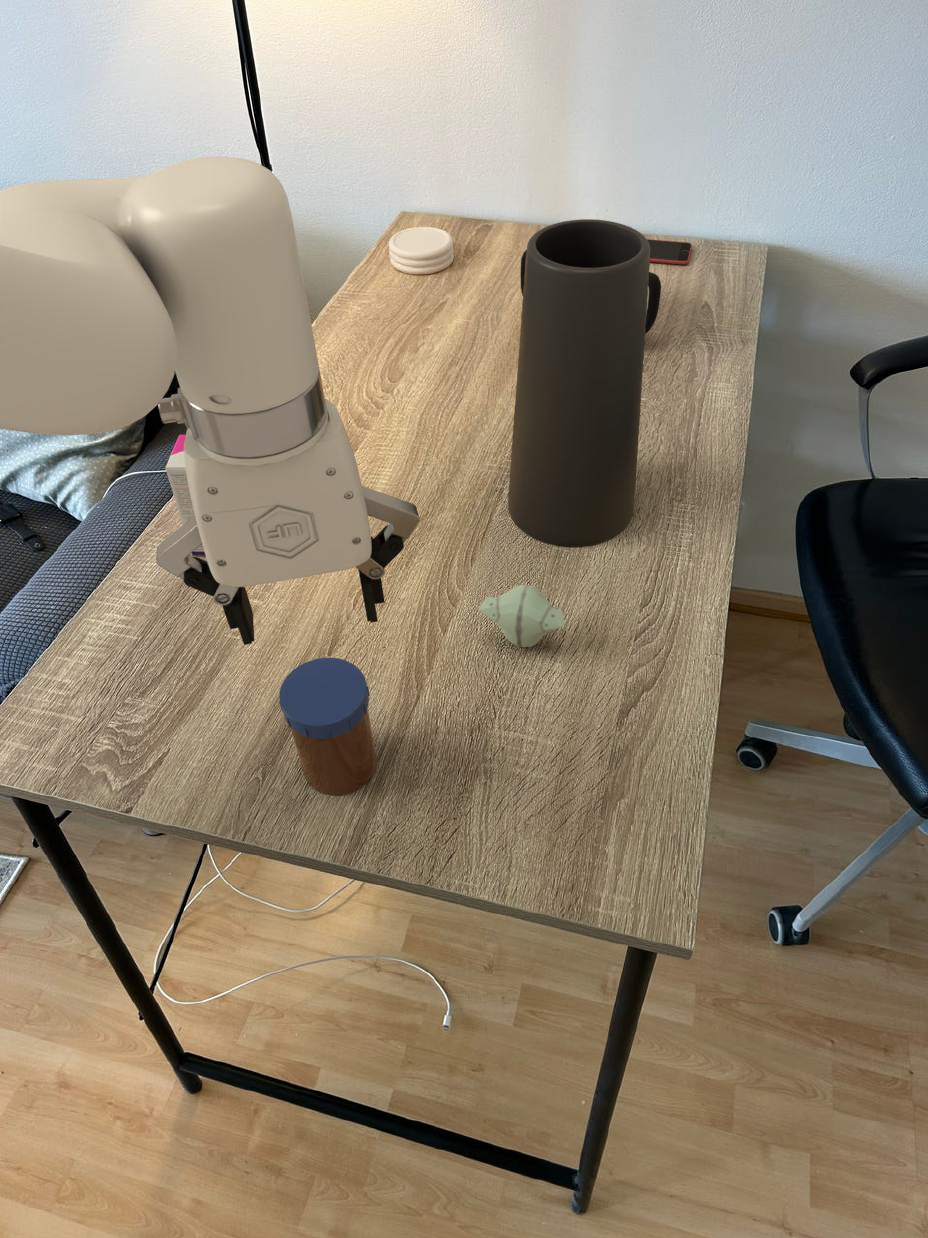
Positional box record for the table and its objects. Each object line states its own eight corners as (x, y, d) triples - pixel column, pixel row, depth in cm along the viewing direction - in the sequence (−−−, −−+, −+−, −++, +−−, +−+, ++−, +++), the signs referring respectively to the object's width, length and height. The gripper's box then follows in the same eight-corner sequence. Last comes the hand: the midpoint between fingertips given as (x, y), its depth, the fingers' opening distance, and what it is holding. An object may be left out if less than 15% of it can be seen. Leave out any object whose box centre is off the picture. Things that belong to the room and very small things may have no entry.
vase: (488, 528, 96) (484, 264, 75) (534, 456, 104) (542, 201, 83) (611, 560, 92) (642, 291, 71) (648, 483, 100) (686, 222, 79)
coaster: (463, 252, 142) (463, 229, 139) (438, 280, 136) (437, 257, 133) (406, 243, 145) (405, 221, 142) (379, 270, 138) (377, 247, 136)
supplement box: (246, 555, 94) (221, 467, 86) (190, 556, 94) (160, 468, 86) (256, 520, 98) (233, 432, 90) (202, 520, 98) (175, 433, 90)
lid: (332, 753, 66) (328, 739, 65) (265, 714, 69) (261, 701, 68) (386, 693, 70) (384, 679, 69) (320, 659, 73) (317, 645, 72)
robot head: (476, 649, 84) (474, 599, 79) (488, 619, 87) (487, 568, 82) (560, 666, 82) (563, 616, 77) (569, 634, 85) (573, 583, 80)
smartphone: (688, 262, 135) (596, 254, 138) (688, 265, 136) (596, 257, 139) (693, 242, 140) (603, 234, 143) (692, 245, 140) (603, 238, 143)
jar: (345, 808, 73) (329, 739, 66) (288, 773, 75) (266, 704, 68) (391, 754, 76) (380, 684, 69) (335, 723, 79) (318, 652, 72)
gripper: (93, 469, 47) (184, 682, 59) (421, 419, 49) (441, 636, 61) (103, 391, 52) (185, 603, 65) (400, 349, 54) (423, 562, 66)
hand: (309, 618), depth 63 cm, fingers open, 8 cm apart
